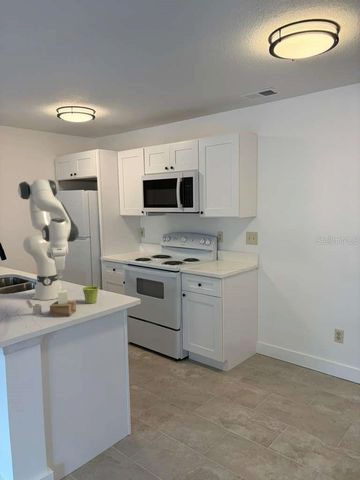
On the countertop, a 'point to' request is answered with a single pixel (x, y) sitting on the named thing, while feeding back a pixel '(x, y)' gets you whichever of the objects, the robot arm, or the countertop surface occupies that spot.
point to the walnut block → (63, 309)
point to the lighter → (35, 308)
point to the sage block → (62, 297)
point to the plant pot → (90, 294)
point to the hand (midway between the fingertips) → (60, 276)
